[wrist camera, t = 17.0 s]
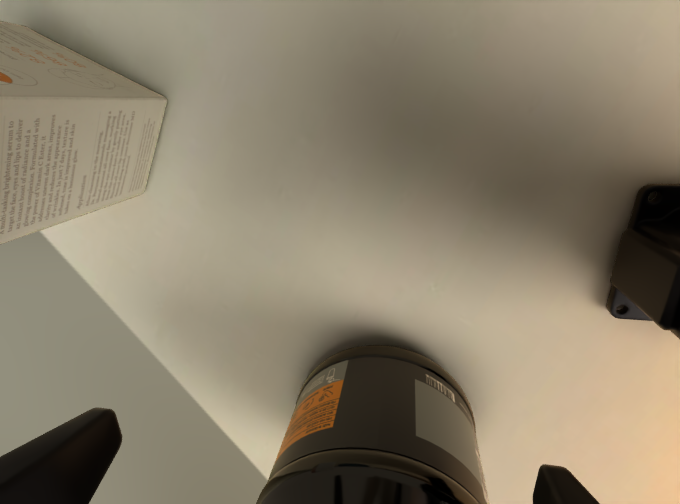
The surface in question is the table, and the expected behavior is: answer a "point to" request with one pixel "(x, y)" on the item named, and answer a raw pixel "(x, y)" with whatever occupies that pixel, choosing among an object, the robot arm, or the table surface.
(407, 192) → the table surface
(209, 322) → the table surface
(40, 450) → the robot arm
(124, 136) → the small box
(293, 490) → the supplement container
